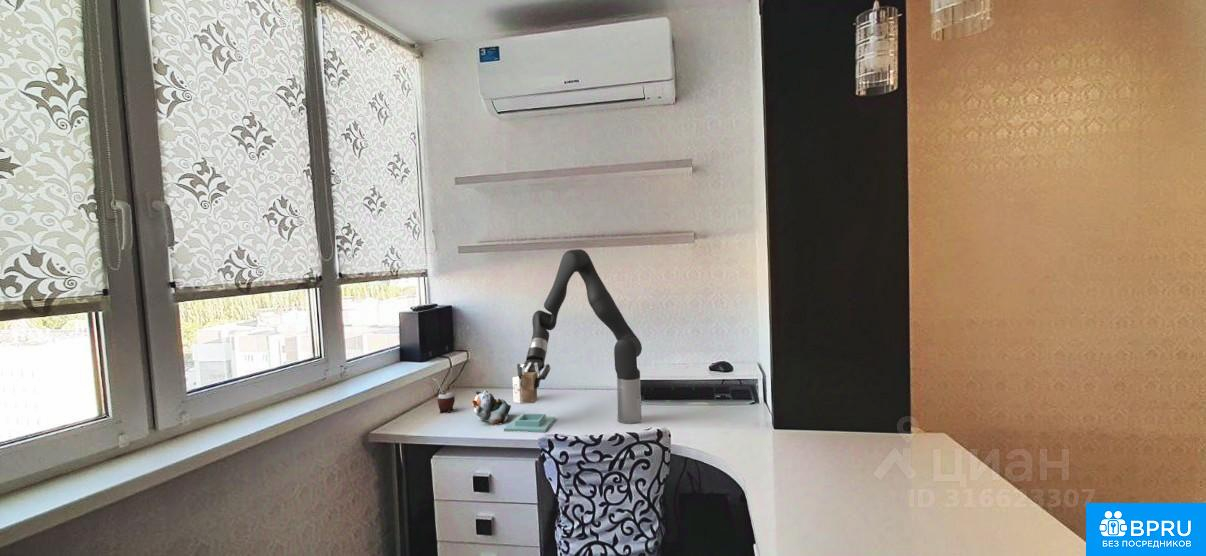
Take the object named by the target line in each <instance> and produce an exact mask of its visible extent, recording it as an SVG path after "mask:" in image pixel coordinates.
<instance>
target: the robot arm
mask: <svg viewBox="0 0 1206 556" xmlns="http://www.w3.org/2000/svg"><path fill="white" fill-rule="evenodd" d="M575 273H578V274H579V276H580V277H581V279H582V281H583V283H584V285H585V289H586V296H587V300H588V303H589V305H590V307H591V309H592V311H593V312H594V314H595V316H596V317H597V318H598V319H599V320H600V321H601V322H602V323H603V324H604V325H605V326H606V327H608V329H610V331H611V332H612V333H613V335H614V337H615V339H616V342H615V344H614V349H613V350H614V351H613V354H614V355H613V357H614V358H613V359H614V369H615V373H616V391H617V392H616V393H617V395H616V396H617V397H616V398H617V421H618V422H619V423H622V424H627V425H628V424H629V425H630V424H631V425H632V424H637V423H639V424H640V423H641V422H642V416H643V415H642V394H641V371H640V369H639V368H638V361H637V360H638V359H637V358H638V357H639V356H641V354H642V349H643V348H642V343H641V340H640V339H639V338H638V337H637V335H636V334H635V332H634V331H633V330H632V328H631V327H630V326H629V325H628V323H627V321H626V320H625V318H624V316H623V314H622V312H621V311H620V309H619V307H618V306H617V304H616V302H615V300H614V298H613V297H612V295H611V294H610V292H609V291H608V289H607V288H606V286H605V284H604V282H603V281H602V279H601V278H600V276H599V275H600V274H598V272H597V270H596V268H595V265H594V263H593V262H592V259H591V257H590V255H589V254H588V252H587V251H586V250H583V249H580V248H578V249H569V250H567V251H566V252H564V254H562V257H561V260H560V262H559V266H558V270H557V273H556V276H555V279H554V282H553V285H552V287H551V289H550V291H549V292H548V295H547V297H546V298H545V302H544V304H543V308H545V310H546V311H547V312H546V311H543V310H539V309H538V310H536V311H535V312H534V313H533V315H532V320H531V323H532V324H531V325H532V337H531V339H530V340H531V341H530V343H529V346H528V351H527V353H526V359H525V362H524V363H521V364H520V363H517V364H516V368H517V369H516V370H517V376H518V377H519V379H522V371H524V370H525V371H524V373H525V372H537V375H536V377H537V378H536V379H535V384H534V388H535V389H537V390H538V388H539V387H540V384H541V383H540V382H541V381H543V380H546V378H547V377H548V375H549V373H550V371H551V369H552V368H551V366H550V364H549V363H548V364H545V360H546V355H547V353H548V345H549V344H548V343H549V341H550V340H549V339H550V332H549V331H552V330H554V329H555V328H556V325H557V321H558V320H557V319H558V314H559V312H560V309H561V307H562V305H563V303H564V301H565V299H566V296H567V288H568V285H569V281H570V280H571V278H572V276H573V275H574V274H575ZM542 370H543V371H542ZM541 371H542V373H541ZM524 373H523V374H524ZM520 385H521V387H522V380H521V384H520Z"/></svg>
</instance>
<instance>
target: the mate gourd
mask: <svg viewBox="0 0 1206 556" xmlns="http://www.w3.org/2000/svg"><path fill="white" fill-rule="evenodd" d="M431 379H432V380H434V381H435V382H436V383H437V385H438V388H439V390H440V393H439V394H438V397H437V405H438V409H439V414H443V413H448V414H451V413H452V411H454V405H455V402H456V401H455V400H456V399H455V395H454V393H453V392H452V391H444V392H443V388H442V386H441V384H440V382H439V381H438V380H437V379H435V378H433V377H432V378H431Z"/></svg>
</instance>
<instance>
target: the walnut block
mask: <svg viewBox="0 0 1206 556" xmlns="http://www.w3.org/2000/svg"><path fill="white" fill-rule="evenodd" d="M536 375H537V372H525V373H524V374H522V400H523V403H522V404H534V403H536V402H537V401H538V388H537V389H535V388H534V384H535V379H536V378H537V377H536Z"/></svg>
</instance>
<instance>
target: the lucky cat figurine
mask: <svg viewBox="0 0 1206 556" xmlns="http://www.w3.org/2000/svg"><path fill="white" fill-rule="evenodd" d="M471 402H472V405H471V408H472V409H473V411H474V413H475V415H476V416H477V417H479V418H480V421H486V422H487V423H489V424H492V425H494V424H497V425H501V424H500V423H502V424H504V422H506V421H507V420H508V418H509V412H510V410H511V407H512V406H511V405H510V404H508V403H507V402H506V400H505V399H502V398H497V399H495V397H494V395H493V393H491V392H488V390H484V391H483V392H481V391H476V392H475V397H474V400H472V401H471Z"/></svg>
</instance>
